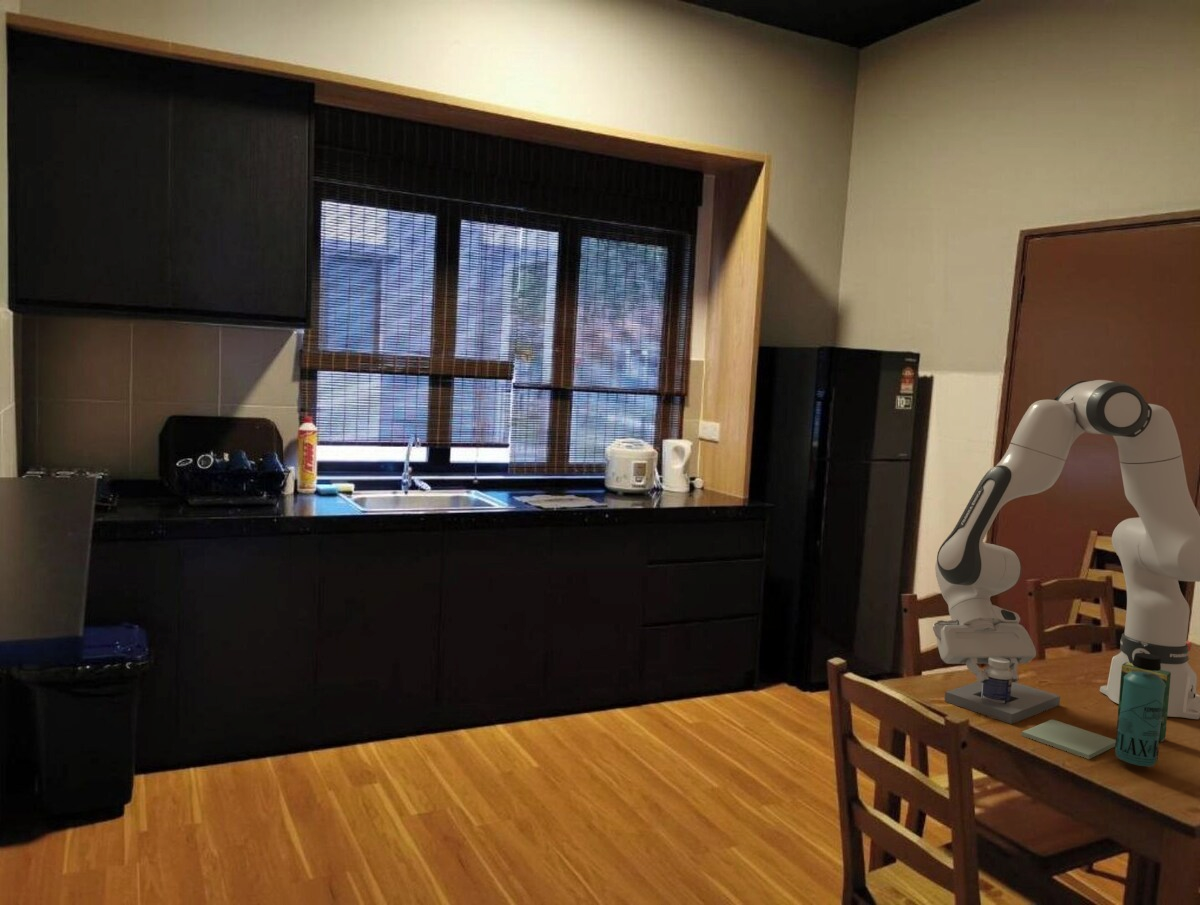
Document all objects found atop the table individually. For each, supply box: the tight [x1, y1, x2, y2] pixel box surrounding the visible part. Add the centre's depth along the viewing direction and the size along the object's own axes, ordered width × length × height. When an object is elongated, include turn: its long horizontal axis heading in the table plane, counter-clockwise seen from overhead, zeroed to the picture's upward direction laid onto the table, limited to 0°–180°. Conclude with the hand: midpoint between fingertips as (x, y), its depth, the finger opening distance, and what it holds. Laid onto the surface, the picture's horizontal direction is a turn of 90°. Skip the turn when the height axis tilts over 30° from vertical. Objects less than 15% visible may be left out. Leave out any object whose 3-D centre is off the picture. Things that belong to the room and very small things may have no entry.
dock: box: [944, 681, 1061, 725], centre depth 184 cm, size 20×14×2 cm
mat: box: [1021, 719, 1116, 760], centre depth 166 cm, size 12×12×1 cm
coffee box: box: [1116, 662, 1171, 743], centre depth 170 cm, size 8×3×13 cm, turn 43°
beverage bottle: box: [1114, 653, 1166, 767], centre depth 154 cm, size 6×7×20 cm
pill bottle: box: [981, 657, 1012, 704], centre depth 182 cm, size 5×5×10 cm
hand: (999, 681), depth 181 cm, fingers closed on pill bottle, 5 cm apart
